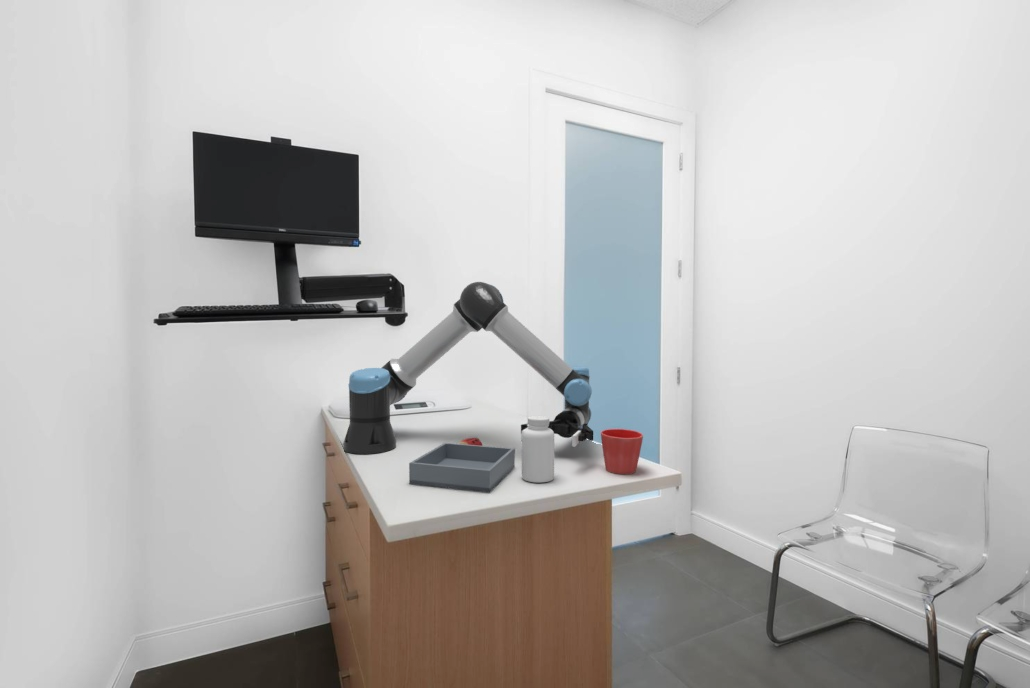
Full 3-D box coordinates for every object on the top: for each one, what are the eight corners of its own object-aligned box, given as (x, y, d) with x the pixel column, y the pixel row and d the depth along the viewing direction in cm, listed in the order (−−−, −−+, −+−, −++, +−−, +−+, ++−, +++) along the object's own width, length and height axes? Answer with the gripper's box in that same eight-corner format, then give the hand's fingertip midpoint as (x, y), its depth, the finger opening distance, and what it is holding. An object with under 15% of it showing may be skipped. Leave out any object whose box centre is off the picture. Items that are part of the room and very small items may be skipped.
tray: (409, 483, 117) (409, 463, 117) (444, 460, 136) (444, 442, 136) (489, 492, 111) (489, 470, 111) (514, 467, 131) (514, 448, 130)
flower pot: (636, 464, 134) (637, 428, 134) (646, 476, 123) (647, 438, 123) (597, 463, 134) (597, 428, 134) (603, 476, 124) (604, 437, 123)
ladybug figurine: (450, 453, 144) (450, 441, 144) (469, 446, 153) (469, 434, 153) (469, 457, 141) (469, 444, 141) (488, 449, 150) (488, 437, 149)
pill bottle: (554, 473, 125) (554, 414, 125) (553, 484, 117) (554, 421, 117) (523, 472, 126) (523, 414, 125) (520, 483, 118) (520, 420, 117)
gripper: (610, 439, 143) (595, 458, 123) (528, 431, 151) (502, 448, 132) (611, 413, 142) (596, 428, 122) (529, 407, 151) (502, 420, 131)
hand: (547, 438), depth 127 cm, fingers open, 13 cm apart
